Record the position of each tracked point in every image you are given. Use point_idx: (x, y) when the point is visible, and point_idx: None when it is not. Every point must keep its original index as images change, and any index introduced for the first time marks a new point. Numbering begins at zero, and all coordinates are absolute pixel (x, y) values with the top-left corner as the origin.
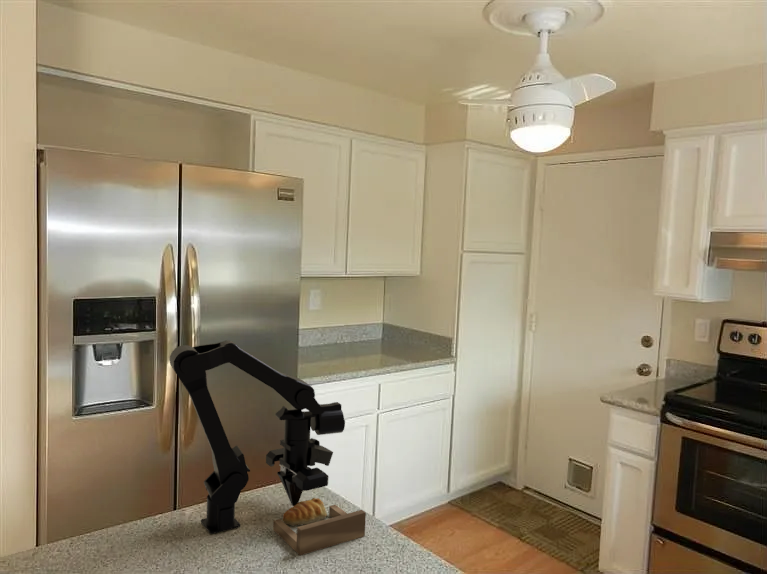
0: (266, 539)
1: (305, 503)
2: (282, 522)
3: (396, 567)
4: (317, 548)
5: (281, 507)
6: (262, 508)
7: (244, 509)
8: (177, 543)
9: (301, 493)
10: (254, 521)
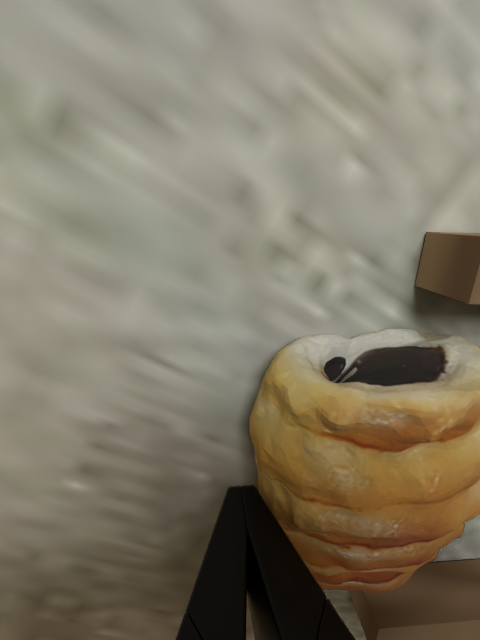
0: None
1: (402, 529)
2: (423, 628)
3: None
4: None
5: (131, 491)
6: (95, 572)
7: (67, 634)
8: None
9: (316, 584)
10: None
